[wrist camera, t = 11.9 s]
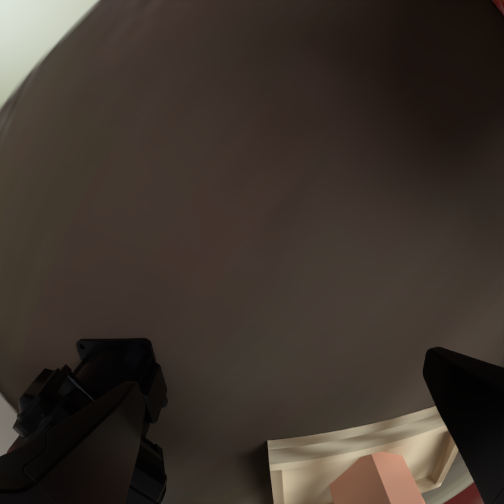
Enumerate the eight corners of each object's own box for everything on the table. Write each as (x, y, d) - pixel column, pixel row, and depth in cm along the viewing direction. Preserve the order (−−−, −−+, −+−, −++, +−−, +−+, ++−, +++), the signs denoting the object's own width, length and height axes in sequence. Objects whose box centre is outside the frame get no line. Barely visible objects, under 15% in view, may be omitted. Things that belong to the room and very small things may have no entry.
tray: (274, 506, 28) (276, 525, 25) (267, 440, 25) (269, 464, 22) (431, 470, 28) (440, 486, 25) (460, 397, 25) (473, 413, 22)
